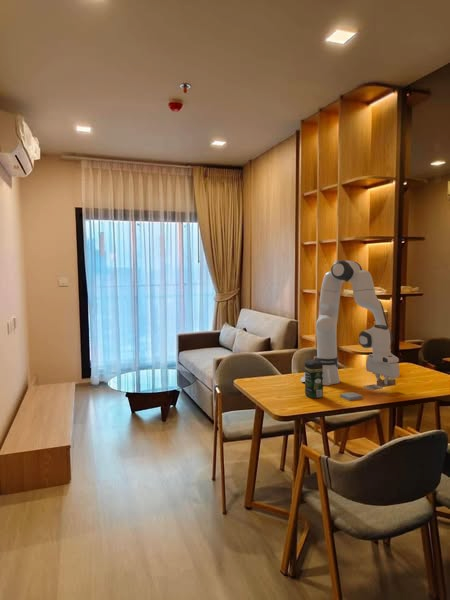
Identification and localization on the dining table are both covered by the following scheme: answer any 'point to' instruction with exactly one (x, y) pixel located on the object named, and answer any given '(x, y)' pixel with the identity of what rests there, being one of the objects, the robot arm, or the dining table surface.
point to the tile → (351, 396)
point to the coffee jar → (313, 379)
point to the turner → (381, 384)
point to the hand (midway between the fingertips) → (382, 383)
